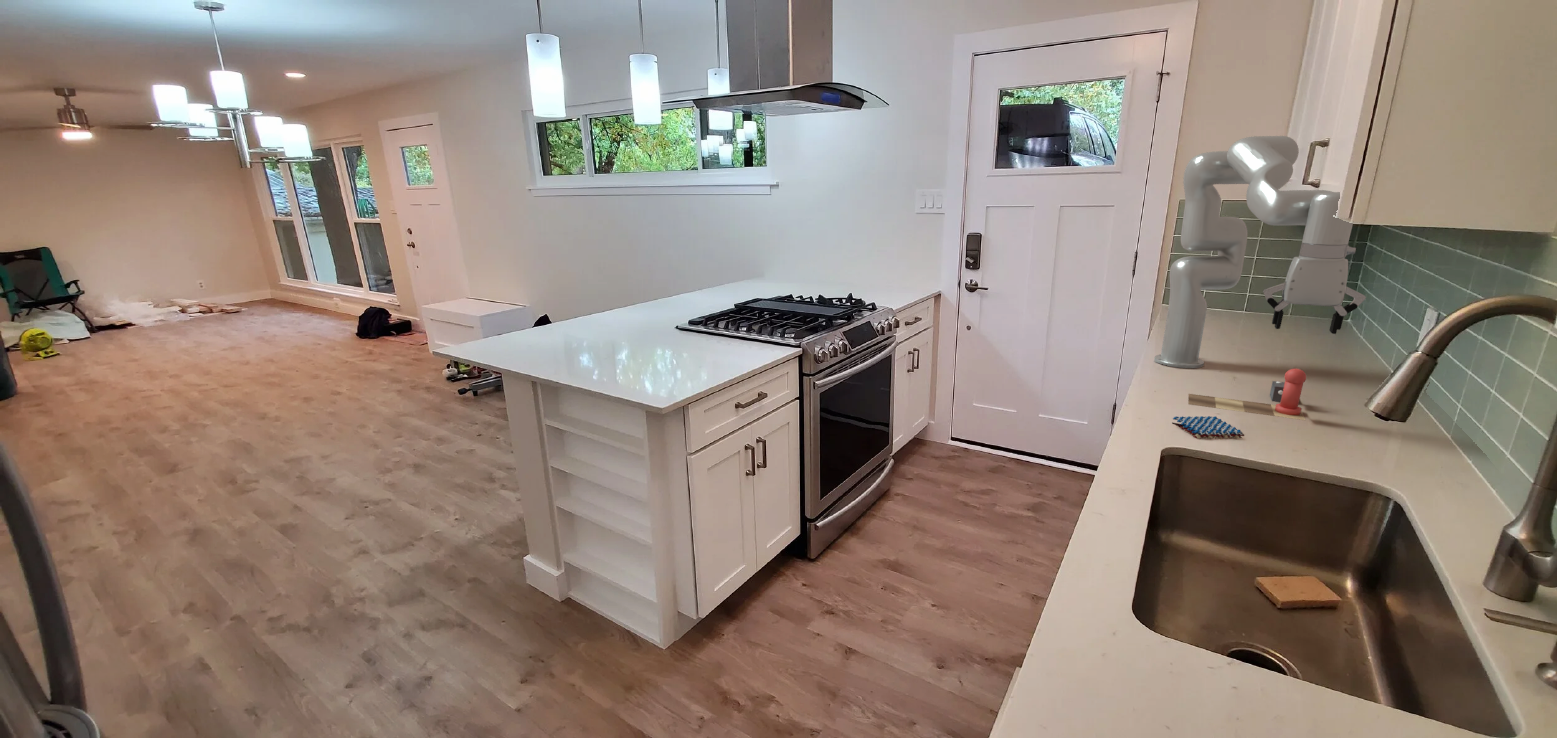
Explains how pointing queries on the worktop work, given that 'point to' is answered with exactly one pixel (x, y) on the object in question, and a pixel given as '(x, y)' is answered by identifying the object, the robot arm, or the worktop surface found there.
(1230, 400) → the board
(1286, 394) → the pawn
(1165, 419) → the worktop surface
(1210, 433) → the woven mat
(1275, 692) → the worktop surface
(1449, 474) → the worktop surface
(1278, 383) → the die
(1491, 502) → the worktop surface
